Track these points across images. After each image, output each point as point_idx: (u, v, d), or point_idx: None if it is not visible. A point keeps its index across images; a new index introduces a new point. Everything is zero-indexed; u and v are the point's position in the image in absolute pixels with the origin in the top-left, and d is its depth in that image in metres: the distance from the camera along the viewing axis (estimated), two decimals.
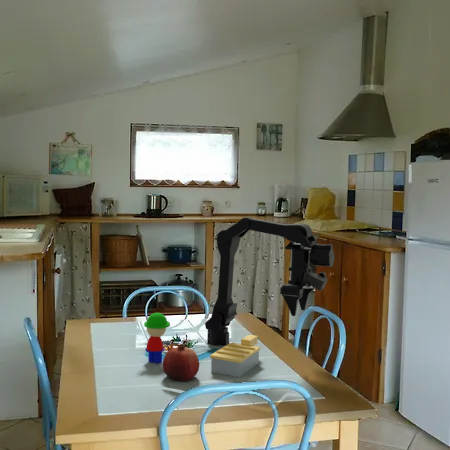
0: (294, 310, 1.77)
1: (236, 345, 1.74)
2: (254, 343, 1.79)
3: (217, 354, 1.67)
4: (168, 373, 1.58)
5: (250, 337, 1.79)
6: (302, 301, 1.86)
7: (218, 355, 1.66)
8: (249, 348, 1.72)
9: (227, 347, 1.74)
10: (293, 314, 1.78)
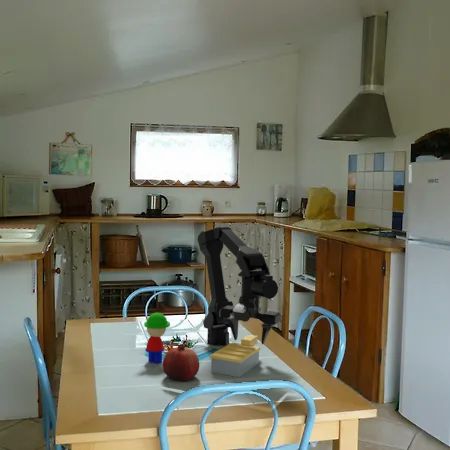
0: None
1: (236, 345, 1.74)
2: (254, 343, 1.79)
3: (217, 354, 1.67)
4: (168, 373, 1.58)
5: (250, 337, 1.79)
6: None
7: (218, 355, 1.66)
8: (249, 348, 1.72)
9: (227, 347, 1.74)
10: None
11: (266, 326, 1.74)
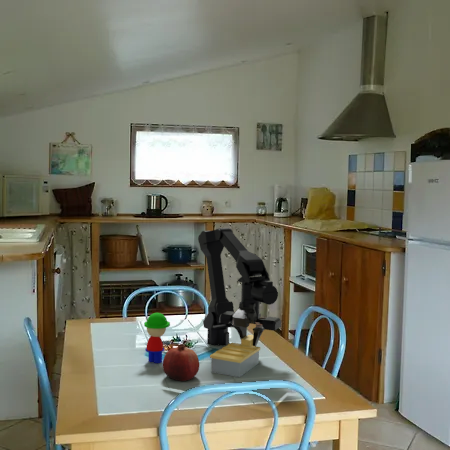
0: None
1: (236, 345, 1.74)
2: None
3: (217, 354, 1.67)
4: (168, 373, 1.58)
5: (250, 337, 1.79)
6: None
7: (218, 355, 1.66)
8: (249, 348, 1.72)
9: (227, 347, 1.74)
10: None
11: (257, 330, 1.75)
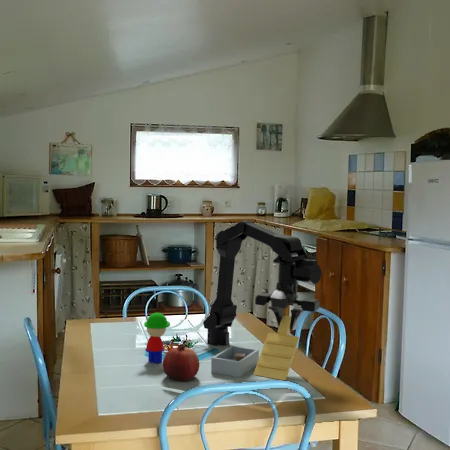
0: None
1: (274, 343, 1.70)
2: None
3: (259, 369, 1.65)
4: (168, 373, 1.58)
5: (285, 323, 1.72)
6: None
7: (261, 372, 1.64)
8: (288, 345, 1.68)
9: (266, 347, 1.70)
10: None
11: (295, 312, 1.69)
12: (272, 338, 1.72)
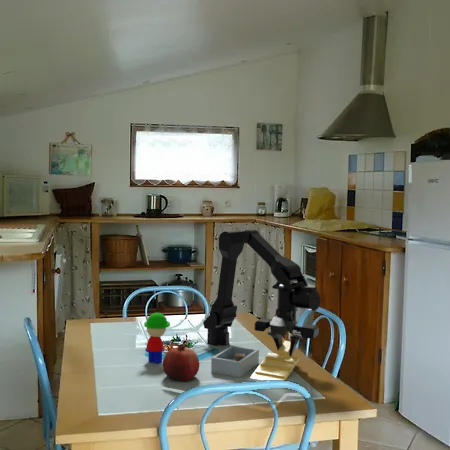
0: None
1: (274, 358, 1.70)
2: None
3: (256, 375, 1.63)
4: (168, 373, 1.58)
5: (287, 345, 1.75)
6: None
7: (258, 377, 1.62)
8: (288, 362, 1.68)
9: (265, 362, 1.70)
10: None
11: (295, 338, 1.70)
12: (272, 356, 1.72)
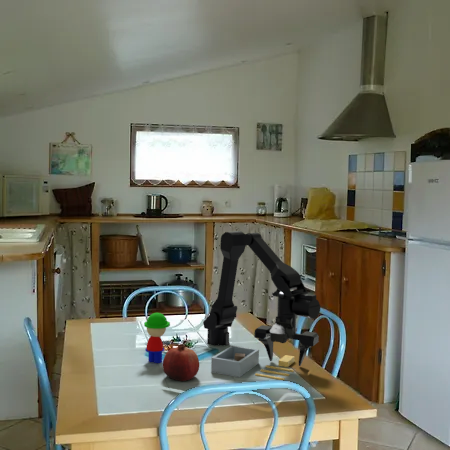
0: None
1: (274, 367, 1.70)
2: None
3: None
4: (168, 373, 1.58)
5: (287, 358, 1.75)
6: None
7: None
8: (288, 370, 1.68)
9: None
10: None
11: (304, 347, 1.69)
12: None
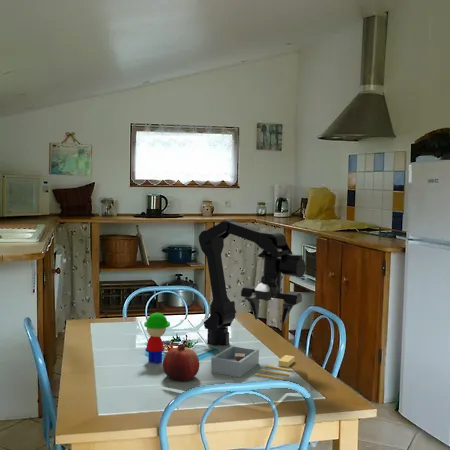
0: None
1: (274, 367, 1.70)
2: None
3: None
4: (168, 373, 1.58)
5: (287, 358, 1.75)
6: None
7: None
8: (288, 370, 1.68)
9: None
10: None
11: (287, 306, 1.76)
12: None
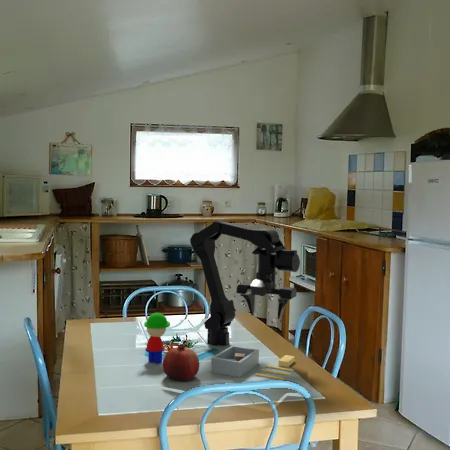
0: None
1: (274, 367, 1.70)
2: None
3: None
4: (168, 373, 1.58)
5: (287, 358, 1.75)
6: None
7: None
8: (288, 370, 1.68)
9: None
10: None
11: (282, 301, 1.79)
12: None
